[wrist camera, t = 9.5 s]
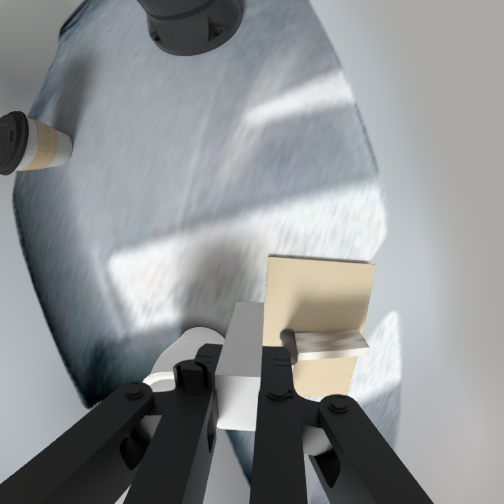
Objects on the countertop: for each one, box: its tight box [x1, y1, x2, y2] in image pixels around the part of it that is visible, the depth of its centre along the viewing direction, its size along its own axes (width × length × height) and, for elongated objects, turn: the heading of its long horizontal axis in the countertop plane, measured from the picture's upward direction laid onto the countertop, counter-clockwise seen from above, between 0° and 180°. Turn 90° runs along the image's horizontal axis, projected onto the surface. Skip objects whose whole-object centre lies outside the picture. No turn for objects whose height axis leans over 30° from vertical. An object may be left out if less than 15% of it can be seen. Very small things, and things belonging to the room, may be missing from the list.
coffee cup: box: [0, 111, 72, 175], centre depth 33 cm, size 9×9×15 cm
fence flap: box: [282, 329, 370, 366], centre depth 39 cm, size 12×2×7 cm, turn 92°
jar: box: [143, 327, 225, 426], centre depth 37 cm, size 11×10×15 cm
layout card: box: [263, 257, 375, 396], centre depth 43 cm, size 24×16×1 cm, turn 176°
